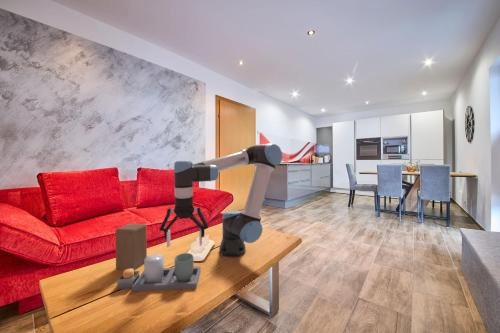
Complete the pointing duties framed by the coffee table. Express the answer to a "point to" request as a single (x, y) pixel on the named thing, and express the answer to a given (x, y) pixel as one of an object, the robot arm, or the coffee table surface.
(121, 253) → the wooden block
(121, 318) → the coffee table surface
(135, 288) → the grey divided tray
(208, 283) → the coffee table surface
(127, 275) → the button
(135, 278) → the button housing
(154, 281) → the billet
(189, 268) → the cup
